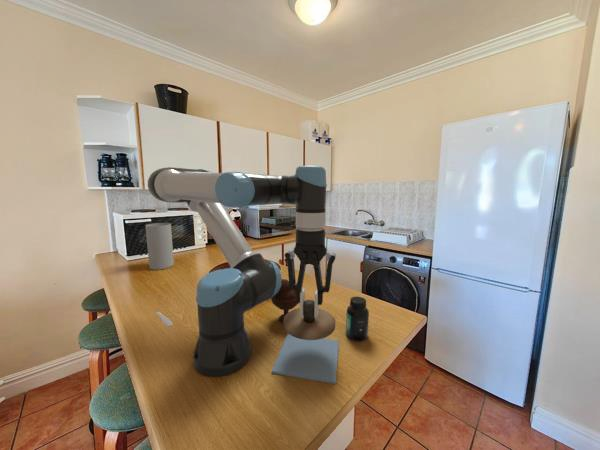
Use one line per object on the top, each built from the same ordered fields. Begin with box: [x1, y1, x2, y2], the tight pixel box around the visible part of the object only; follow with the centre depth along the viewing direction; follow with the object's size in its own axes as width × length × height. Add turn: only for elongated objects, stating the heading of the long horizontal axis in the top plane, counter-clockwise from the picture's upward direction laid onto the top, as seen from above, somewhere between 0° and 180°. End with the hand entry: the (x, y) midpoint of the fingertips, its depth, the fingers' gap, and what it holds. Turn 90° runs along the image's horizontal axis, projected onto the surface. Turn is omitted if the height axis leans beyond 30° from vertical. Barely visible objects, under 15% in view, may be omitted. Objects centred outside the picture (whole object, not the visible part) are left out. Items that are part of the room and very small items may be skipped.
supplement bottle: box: [345, 296, 370, 342], centre depth 75 cm, size 7×7×12 cm
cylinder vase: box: [145, 222, 175, 271], centre depth 138 cm, size 12×12×25 cm
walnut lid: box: [282, 299, 336, 340], centre depth 64 cm, size 14×14×6 cm
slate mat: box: [271, 333, 340, 385], centre depth 66 cm, size 16×16×1 cm
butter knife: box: [155, 311, 173, 327], centre depth 89 cm, size 1×27×3 cm
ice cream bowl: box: [270, 278, 299, 324], centre depth 84 cm, size 11×11×15 cm
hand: (309, 314), depth 64 cm, fingers closed on walnut lid, 3 cm apart
